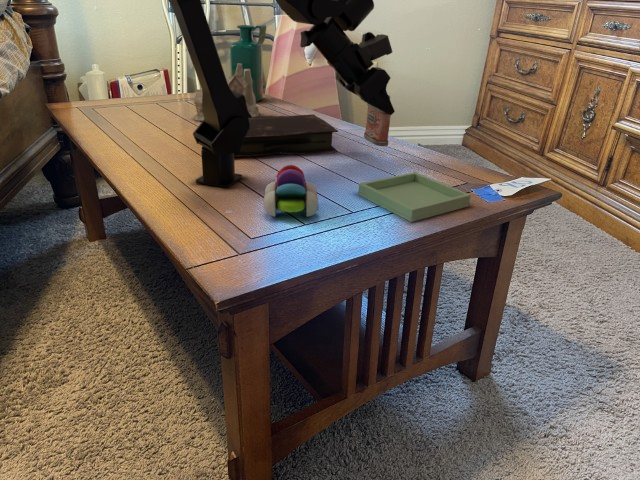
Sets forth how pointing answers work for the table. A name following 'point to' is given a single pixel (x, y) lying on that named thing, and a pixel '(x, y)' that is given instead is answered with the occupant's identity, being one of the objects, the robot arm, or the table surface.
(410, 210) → the dish
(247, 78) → the ceramic cottage
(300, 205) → the rainbow wheeled toy
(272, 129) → the diary
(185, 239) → the table surface
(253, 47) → the pitcher
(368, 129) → the lighter
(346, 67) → the robot arm
